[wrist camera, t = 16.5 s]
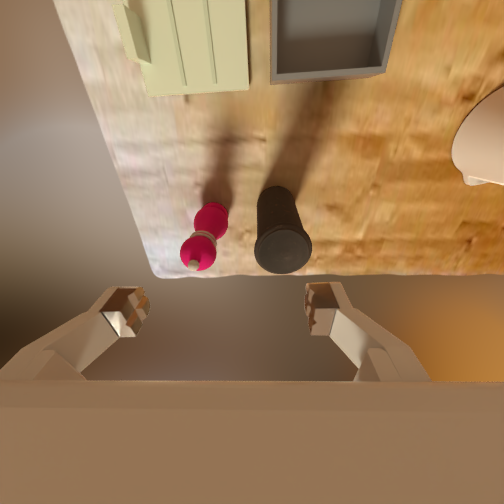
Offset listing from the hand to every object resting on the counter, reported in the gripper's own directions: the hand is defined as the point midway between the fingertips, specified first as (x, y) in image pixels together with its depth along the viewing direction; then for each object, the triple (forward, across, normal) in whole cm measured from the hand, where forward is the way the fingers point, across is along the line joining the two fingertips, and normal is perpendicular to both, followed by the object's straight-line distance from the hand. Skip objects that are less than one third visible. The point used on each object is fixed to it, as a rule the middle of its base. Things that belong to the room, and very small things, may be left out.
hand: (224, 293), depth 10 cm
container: (+37, -5, +10) cm, 39 cm away
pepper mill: (+37, +9, +12) cm, 40 cm away
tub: (+37, -12, -17) cm, 42 cm away
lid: (+36, +8, -17) cm, 41 cm away
